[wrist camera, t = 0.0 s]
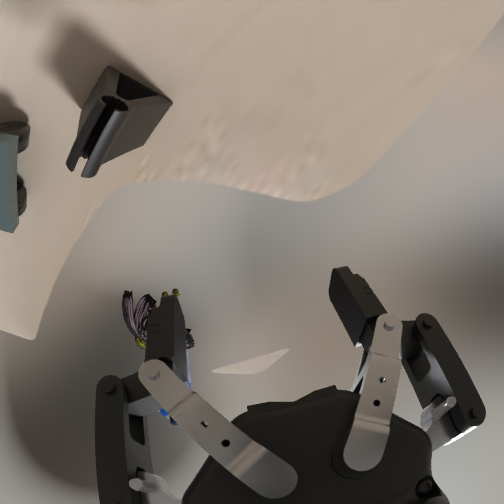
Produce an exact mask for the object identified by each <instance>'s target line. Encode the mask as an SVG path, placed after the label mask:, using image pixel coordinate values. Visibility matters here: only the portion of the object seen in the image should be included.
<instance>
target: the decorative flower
mask: <svg viewBox="0 0 504 504" xmlns="http://www.w3.org/2000/svg"><path fill="white" fill-rule="evenodd" d="M172 293H173V294H172V295H177V297H179V295H180V294H179V292H178V290H177V289H173V291H172ZM162 296H168V294H167V292H163V293H162ZM155 303H156V301H155V300H154V299H153V298H152V297H151V296H150V295H149V294H146V295H144V296H143V297H142V298H141V300H140V301H139V303H138V304H137V306H136V309H135V313H133V298H132V291H131V292H129V291H126V290H125V291H124V295H123V300H122V309H123V315H124V319H125V322H126V324H127V327H128V328H129V330H130V332H131V333H132V334H133V335H134V336H135V340H136V344H137V345H138V346H139V347H140V348H142V349H146V337H147V327H148V316H149V314H150V313H151V311H152V309H153V308H156V304H155ZM159 307H160V306H159ZM190 331H191V329H186V328H185V335H186V349H189V348H192V347H193V346H194V343H193V342H194V340H193V338H192V337H191V335H190V334H189V333H190ZM191 343H192V344H191Z"/></svg>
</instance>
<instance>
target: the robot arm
mask: <svg viewBox="0 0 504 504" xmlns="http://www.w3.org/2000/svg"><path fill="white" fill-rule="evenodd" d="M329 297H330V300H331V302H332V304H333V306H334V308H335V310H336V312H337V313H338V315H339V317H340V319H341V321H342V323H343V325H344V327H345V329H346V330H347V333H348V335H349V337H350V339H351V340H352V342H353V344H354V346H355V347H358V346H361V345H362V346H363V348H364V350H363V353H362V357H361V361H360V364H359V368H358V371H357V375H356V378H355V381H354V384H353V386H352V388H351V391H347V390H337V388H336V386H335V385H333V386H330V387H326V388H323V389H320V390H316V391H313V392H312V393H310V394H308V395H306V396H304V397H302V398H300V399H299V400H297V401H294V402H266V403H261V404H256V405H250V406H247V409H248V411H247V412H245V413H242V414H241V415H239V416H237V417H236V418H235V419H233V420H232V421H231V422H229V421H228V420H227V419H226V418H225V417H224V416H222V415H221V414H220V413H219V412H218V411H217V410H215V409H214V408H213V407H212V406H211V405H210V404H209V403H208V402H206V401H205V400H204V399H203V398H202V397H201V396H200V395H199V394H197V393H196V392H193V391H192V390H191V389H190V388H189V387H188V386H187V385H186V384H185V383H183V382H186V381H188V375H187V358H186V335H185V320H184V316H183V313H182V310H181V307H180V304H179V301H178V298H177V295H168V296H162V297H161V303H160V307H158V308H153V309H152V311H151V313H150V314H149V316H148V327H147V337H146V351H145V362H144V364H142V366H141V367H140V369H139V371H138V372H136V373H135V374H133V375H130V376H128V377H125V378H122V379H120V378H118V377H117V376H113V375H108V376H105V377H103V378H102V379H101V380H100V381H99V383H98V384H97V388H96V406H95V407H96V408H95V450H96V451H95V453H96V470H97V482H98V491H99V500H100V504H450V503H449V500H448V498H447V497H446V495H445V494H444V493H443V492H442V490H441V489H440V488H439V487H438V485H437V484H436V482H435V481H434V479H433V477H432V471H431V458H432V451H434V450H435V449H437V448H439V447H440V446H442V445H448V444H449V443H451V442H453V441H454V440H457V439H458V438H460V437H462V436H463V435H465V434H467V433H468V432H470V431H471V430H473V429H474V428H476V427H477V426H479V425H480V424H482V423H483V421H484V419H485V415H486V410H485V406H484V404H483V402H482V400H481V398H480V396H479V394H478V392H477V390H476V388H475V386H474V384H473V382H472V380H471V378H470V376H469V374H468V372H467V370H466V368H465V367H464V365H463V363H462V361H461V359H460V358H459V356H458V354H457V352H456V351H455V349H454V347H453V346H452V344H451V342H450V341H449V339H448V337H447V336H446V334H445V333H444V331H443V329H442V328H441V326H440V324H439V323H438V321H437V320H436V319H435V317H433V316H432V315H430V314H427V313H423V314H420V315H418V317H417V318H416V320H415V321H401V320H400V319H399V318H398V317H397V316H395V315H393V314H389V313H387V311H386V310H385V309H384V307H383V306H382V304H381V302H380V301H379V299H378V298H377V297H376V295H375V294H374V293H373V291H372V289H371V288H370V287H369V285H368V283H367V282H366V281H365V279H363V278H362V277H361V276H359V275H358V274H354V275H353V273H352V272H351V270H350V269H349V268H348V267H347V266H344V267H339V268H334V269H333V270H332V275H331V280H330V286H329ZM401 363H402V365H403V367H404V369H405V370H406V373H407V375H408V377H409V379H410V381H411V384H412V386H413V388H414V390H415V392H416V395H417V397H418V399H419V402H420V404H421V406H422V408H423V411H422V413H421V421H420V424H421V426H422V429H421V428H420V427H418V426H416V425H414V424H412V423H410V422H408V421H406V420H404V419H403V418H401V417H399V416H397V415H395V414H393V413H392V410H393V406H394V401H395V397H396V392H397V387H398V381H399V375H400V369H401ZM163 408H164V410H165V411H166V412H167V413H168V414H169V415H170V416H171V417H172V418H173V419H174V420H175V421H176V423H177V424H178V425H179V426H180V427H181V428H183V430H184V431H185V432H186V433H187V434H188V435H189V436H190V437H191V438H192V439H193V440H194V441H196V442H197V443H198V444H199V445H200V446H201V447H202V448H203V449H204V450H205V451H206V452H207V453H208V454H210V455H209V456H208V458H207V459H206V461H205V463H204V464H203V466H202V467H201V469H200V470H199V472H198V473H197V475H196V477H195V478H194V479H193V481H192V482H191V484H190V485H189V487H188V489H187V490H186V491H185V493H184V495H183V498H182V499H179V498H177V497H176V496H174V495H173V494H172V492H171V491H170V489H169V486H168V484H167V482H166V481H165V480H164V479H163V478H161V477H159V476H156V475H154V474H153V469H152V462H151V455H150V446H149V437H148V427H147V414H150V413H153V412H155V411H158V410H160V409H163Z"/></svg>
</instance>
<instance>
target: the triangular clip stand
mask: <svg viewBox="0 0 504 504" xmlns="http://www.w3.org/2000/svg"><path fill="white" fill-rule="evenodd" d="M172 104H173V102H172V101H170V100H168V99H167V98H165V97H164V96H162V95H160V94H158V93H157V92H155V91H153V90H152V89H150V88H148V87H147V86H145V85H143V84H141V83H139V82H138V81H136V80H134V79H132V78H131V77H129V76H127V75H125V74H123V73H121V72H120V71H118V70H116V69H114V68H112V67H110V66H107V67H106V68H105V70H104V72H103V73H102V75H101V76H100V78H99V80H98V81H97V83H96V85H95V87H94V88H93V90H92V92H91V94H90V96H89V97H88V99H87V101H86V103H85V105H84V107H83V109H82V111H81V115H80V120H79V126H78V133H77V138H76V140H75V142H74V144H73V147H72V149H71V151H70V154H69V156H68V158H67V161H66V165H67V167H68V169H69V170H70V171H71V172H72V171H74V169H75V166H76V164H77V162H78V159H79V157H81V156H82V157H83V158H84V159H86V158H88V161H87V163H86V165H85V167H84V169H83V172H82V174H81V177H84V178H90V177H93V176H95V175H96V174H97V172H98V170H99V168H100V166H101V165H102V164H104V163H106V162H108V161H110V160H112V159H114V158H116V157H118V156H120V155H123V154H125V153H127V152H129V151H131V150H134V149H136V148H138V147H141V146H143V145H144V144H145V142H146V141H147V139H148V138H149V136H150V135H151V133H152V132H153V130H154V129H155V127H156V126H157V124H158V123H159V122H160V120H161V119H162V117H163V116H164V115H165V113H166V112H167V111H168V109H169V108H170V106H171V105H172Z"/></svg>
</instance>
